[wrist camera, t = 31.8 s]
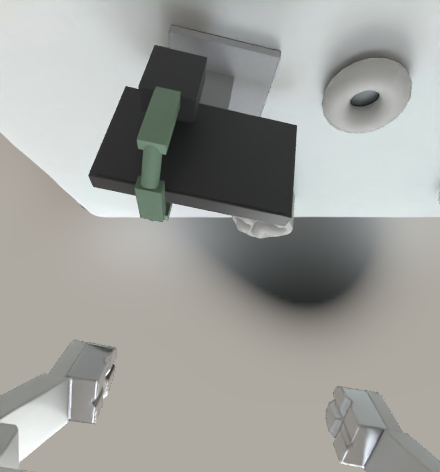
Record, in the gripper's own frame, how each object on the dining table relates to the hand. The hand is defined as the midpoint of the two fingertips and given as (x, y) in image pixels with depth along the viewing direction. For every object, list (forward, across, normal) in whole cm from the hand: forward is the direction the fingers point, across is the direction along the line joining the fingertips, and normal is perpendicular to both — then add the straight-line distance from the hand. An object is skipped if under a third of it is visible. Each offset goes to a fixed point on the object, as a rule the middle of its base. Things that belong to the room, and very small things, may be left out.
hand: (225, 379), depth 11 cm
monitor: (+35, +4, -15) cm, 38 cm away
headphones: (+30, +7, -10) cm, 32 cm away
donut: (+34, -14, -16) cm, 41 cm away
